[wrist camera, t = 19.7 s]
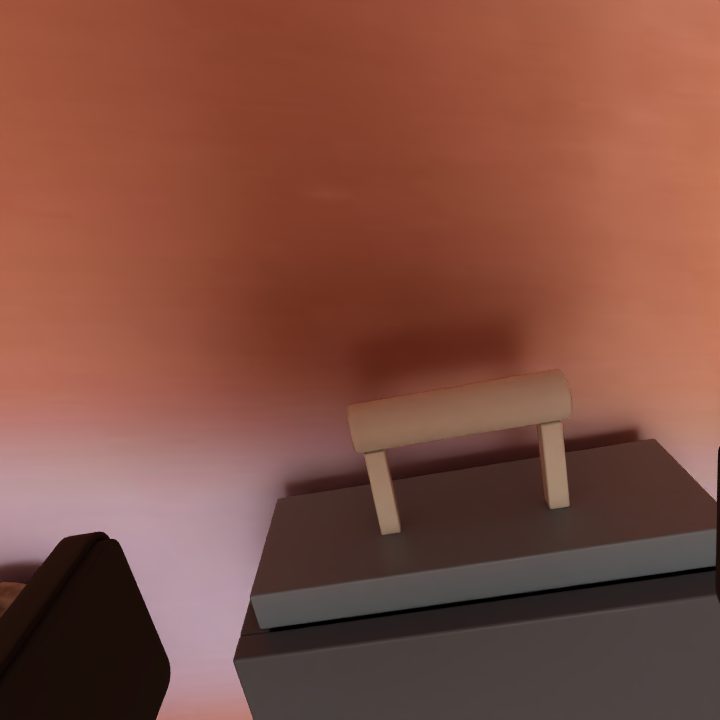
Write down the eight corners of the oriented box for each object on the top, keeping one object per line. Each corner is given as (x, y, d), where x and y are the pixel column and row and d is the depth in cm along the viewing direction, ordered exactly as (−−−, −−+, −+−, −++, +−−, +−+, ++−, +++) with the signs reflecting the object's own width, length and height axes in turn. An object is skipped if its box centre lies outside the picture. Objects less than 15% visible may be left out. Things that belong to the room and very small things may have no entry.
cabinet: (273, 513, 22) (231, 661, 16) (660, 452, 21) (788, 585, 14) (347, 767, 26) (338, 964, 20) (669, 730, 25) (770, 927, 19)
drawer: (246, 390, 19) (206, 465, 15) (650, 319, 18) (744, 375, 13) (348, 749, 25) (342, 885, 20) (664, 711, 24) (734, 847, 19)
